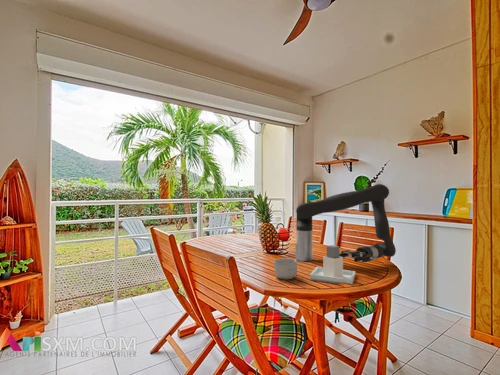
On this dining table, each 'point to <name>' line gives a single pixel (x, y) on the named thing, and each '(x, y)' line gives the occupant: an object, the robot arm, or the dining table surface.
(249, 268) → the dining table surface
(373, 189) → the robot arm
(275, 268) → the teacup
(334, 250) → the block
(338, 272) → the beige rectangular block
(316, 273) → the tray
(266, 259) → the dining table surface
